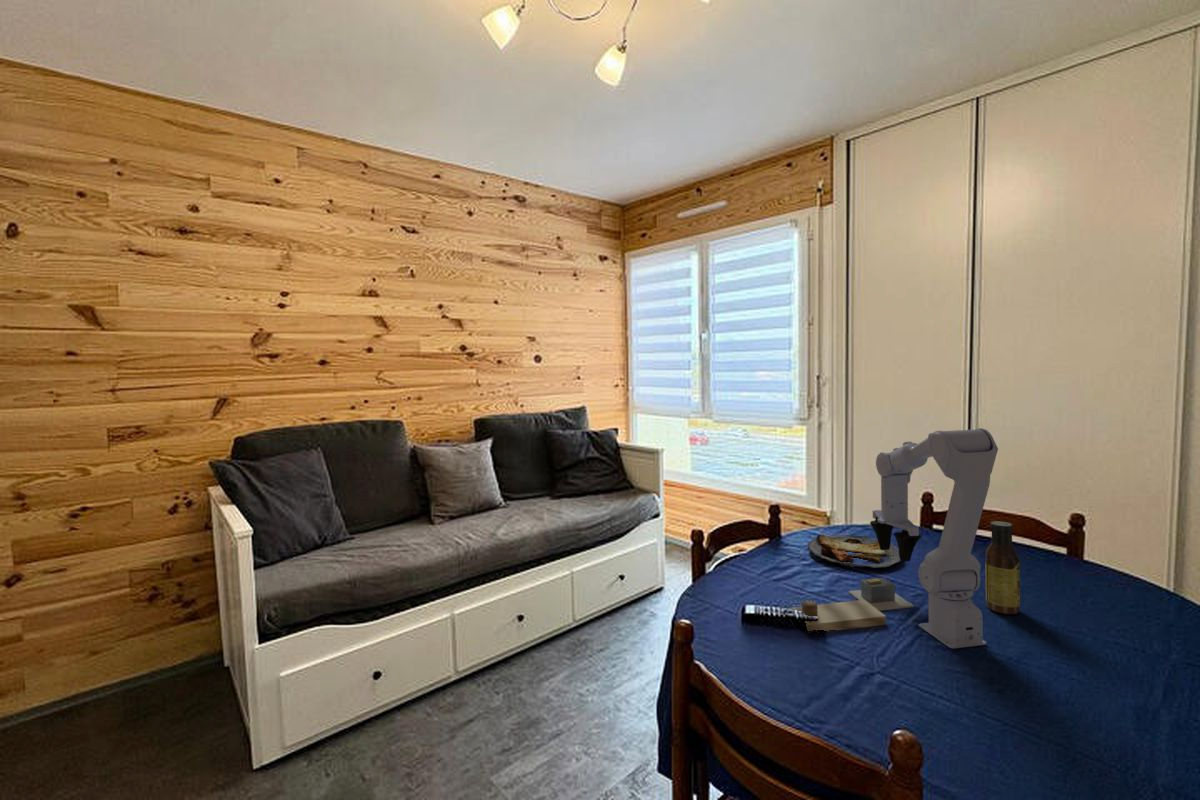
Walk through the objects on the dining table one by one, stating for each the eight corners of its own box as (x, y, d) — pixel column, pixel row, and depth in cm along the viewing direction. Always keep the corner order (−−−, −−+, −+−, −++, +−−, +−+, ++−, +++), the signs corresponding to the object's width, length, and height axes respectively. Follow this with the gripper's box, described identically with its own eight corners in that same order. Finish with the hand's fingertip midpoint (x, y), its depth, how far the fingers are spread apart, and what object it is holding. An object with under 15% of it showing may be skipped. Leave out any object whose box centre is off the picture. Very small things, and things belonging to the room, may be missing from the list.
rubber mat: (913, 606, 125) (913, 605, 125) (873, 611, 124) (873, 609, 124) (885, 588, 135) (885, 587, 135) (848, 592, 134) (848, 591, 134)
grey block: (883, 593, 132) (883, 575, 131) (894, 600, 128) (894, 581, 127) (861, 595, 131) (860, 577, 130) (871, 603, 127) (871, 584, 127)
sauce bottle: (1025, 616, 118) (1027, 528, 116) (994, 615, 119) (994, 528, 118) (1009, 602, 125) (1010, 519, 123) (979, 601, 126) (980, 519, 124)
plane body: (864, 607, 126) (863, 589, 125) (886, 624, 118) (885, 605, 117) (791, 615, 124) (790, 597, 123) (808, 633, 116) (807, 613, 115)
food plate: (803, 563, 153) (803, 551, 152) (812, 537, 173) (812, 527, 173) (903, 578, 141) (904, 565, 141) (900, 549, 162) (901, 538, 161)
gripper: (861, 494, 138) (861, 546, 139) (898, 510, 123) (899, 567, 125) (886, 492, 139) (887, 543, 140) (927, 508, 124) (927, 565, 125)
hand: (894, 554), depth 132 cm, fingers open, 7 cm apart
